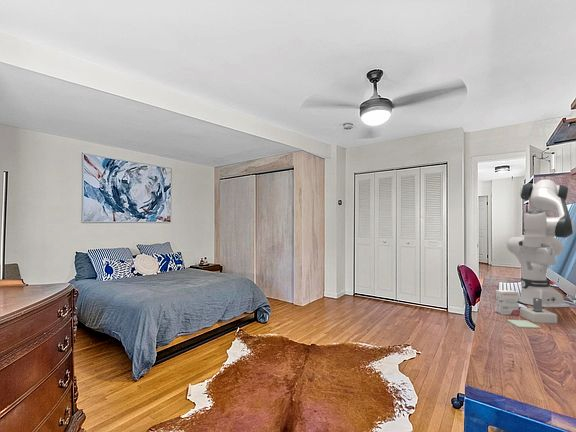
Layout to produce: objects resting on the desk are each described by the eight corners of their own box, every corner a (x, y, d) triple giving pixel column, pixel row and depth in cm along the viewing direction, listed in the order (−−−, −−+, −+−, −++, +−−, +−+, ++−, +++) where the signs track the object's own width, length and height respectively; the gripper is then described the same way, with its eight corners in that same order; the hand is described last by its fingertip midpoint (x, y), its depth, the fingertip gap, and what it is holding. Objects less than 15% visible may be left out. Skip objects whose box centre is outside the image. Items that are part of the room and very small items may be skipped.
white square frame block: (541, 316, 146) (541, 308, 146) (557, 323, 136) (557, 314, 136) (520, 315, 147) (519, 307, 148) (533, 322, 138) (533, 313, 138)
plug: (539, 318, 143) (538, 298, 143) (544, 320, 140) (543, 299, 140) (532, 318, 144) (531, 297, 144) (536, 320, 140) (536, 299, 141)
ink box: (513, 312, 153) (512, 289, 153) (519, 315, 148) (519, 292, 149) (495, 311, 154) (495, 289, 154) (501, 314, 149) (501, 291, 149)
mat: (527, 321, 138) (527, 320, 138) (540, 328, 130) (540, 327, 130) (506, 321, 140) (506, 319, 140) (518, 327, 131) (518, 326, 131)
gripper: (559, 245, 132) (560, 275, 132) (528, 242, 152) (529, 268, 152) (544, 245, 133) (545, 275, 133) (515, 242, 153) (516, 268, 153)
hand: (536, 271), depth 142 cm, fingers open, 8 cm apart
